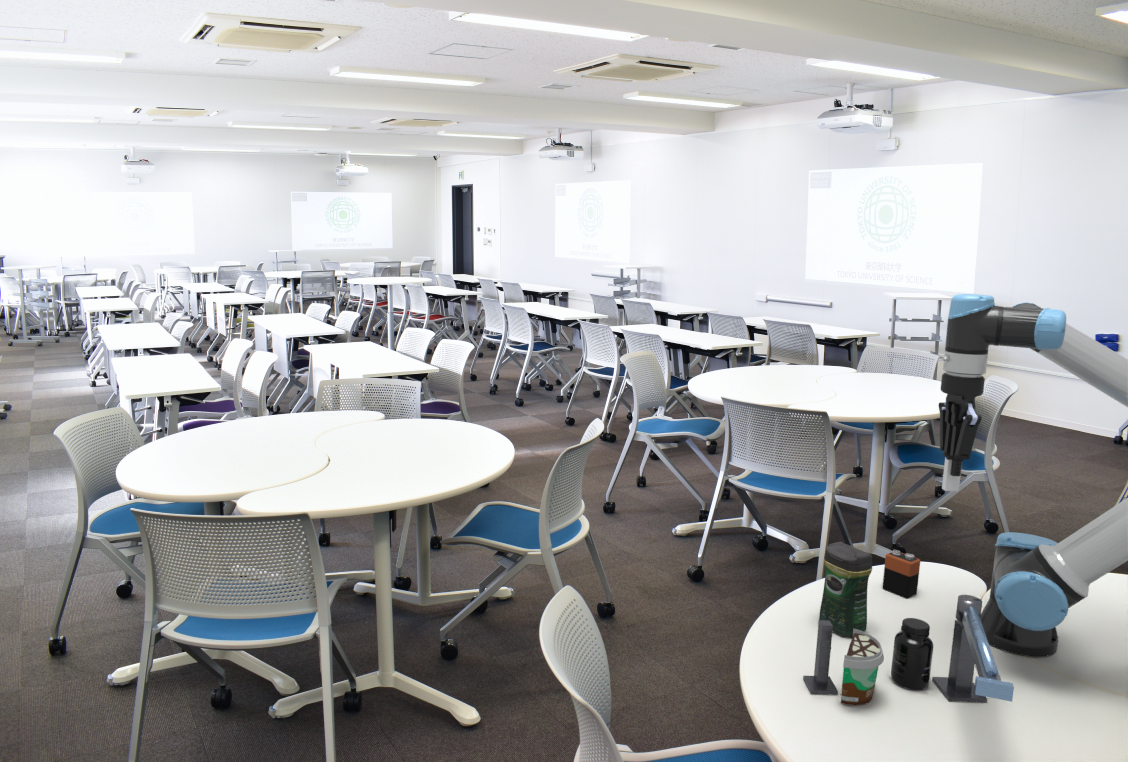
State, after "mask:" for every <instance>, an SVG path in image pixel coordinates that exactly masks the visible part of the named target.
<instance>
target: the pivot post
mask: <svg viewBox="0 0 1128 762" xmlns="http://www.w3.org/2000/svg"><path fill="white" fill-rule="evenodd" d="M951 642H952V643H951V644H952V645H951V649H950V661H949V669H948V675H947V676H932V677H931V681H932V683H933V684H934V685H935V687H937V689H938V690H939V692H940V693H942V695H943V696H944V698H945V699H946V700H947V702H956V703H981V704H988V697H985V696H980V695H975V692H974V687H975V682H973V679H974V674H975V673H974V672H975V667H976V666H975V662H974V659H973V656H972V652H971V649H970V645H969V642H968V639H967V635H966V632H965V629H964V625H963V623H962V622H960V621H958V620H957V619H955V620H954V625H953V634H952V641H951Z"/></svg>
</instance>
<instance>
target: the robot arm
mask: <svg viewBox="0 0 1128 762" xmlns="http://www.w3.org/2000/svg"><path fill="white" fill-rule="evenodd" d="M948 310H949V311H948V318H947V324H946V335H945V337H946V338H945V345H944V346H945V347H944V355H943V356H942V357H941V359H942V361H943V368H942V369H943V371H944V373H942V374H941V380H940V381H941V382H940V391H941V393H944V394H946V396H945V401H944V402H942V401H941V402H939V403H938V410H939V450H940V451H941V452H943V456H944V457H945V458H944V464H943V465H944V467H943V474H942V483H941V489H942V490H943V491H945V492H959V491H960V484H961V474H962V468H963V467H962V466H963V461H965V460H970V458H971V455H972V451H973V446H974V444H975V443H974V442H975V439H976V435H977V430H978V427H979V426H980V423H981V421H982V420H983V419H982V418H983V417H982V415H981V414H976V412H975V410H976V397H981V396H982V395H983V394H984V389H985V381H986V378H985V377H984V376H983V375H984V374H986V373H987V364H988V356H989V346H994V347H995V346H996V347H999V346H1000V347H1001V346H1002V347H1010V348H1011V347H1012V348H1020V349H1021V348H1023V349H1025V348H1026V349H1030V350H1032V351H1033V352H1035V353H1038V354H1040V356H1042V357H1044V358H1046V359H1047V360H1049V361H1050V362H1053V363H1054V364H1056V365H1057V366H1059V367H1060V368H1062V369H1064V370H1065V371H1067V372H1069V373H1070V374H1072V375H1073V376H1074V377H1077V378H1079V379H1080V380H1082V381H1084V382H1085V383H1086V384H1088V385H1090V386H1092V387H1094V388H1095V389H1096V390H1098V391H1099V392H1102V393H1103V394H1105V395H1106V396H1108V397H1110V398H1112V399H1113V400H1114V401H1117V402H1118V403H1119V404H1121V405H1123V406H1125V407H1126V408H1128V358H1126V357H1124V355H1121V354H1120V353H1118V352H1116V351H1114V350H1112V349H1111V348H1109V347H1107V346H1106V345H1105V344H1102V343H1100V342H1098V341H1097V340H1096V339H1093V338H1092V337H1090V336H1088V335H1087V334H1085V333H1083V332H1082V331H1080V330H1079V329H1077V328H1075V327H1073V326H1071V325H1070V324H1068V323H1067V315H1066V312H1065V311H1064V310H1062V309H1052V308H1050V307H1049V308H1048V307H1047V308H1042V307H1040V306H1039V305H1037V304H1035V303H1032V302H1031V303H1030V302H1021V303H1018V304H1015V305H1013V306H1011V307H1010V306H1001V305H1000V306H999V305H996V303H995V297H994V296H993V295H989V294H976V293H959V294H958V293H957V294H956V295H954V296H953V297H952V298H951V300H950V305H949V309H948ZM994 547H995V550H994V551H995V552H994V560H993V567H992V568H993V570H992V575H991V583H990V592H989V598H988V601H987V602H986V604H985V606H984V607H983V609H982V610H981V617H980V620H981V623H982V626H983V629H984V632H985V634H986V637H987V640H988V643H989V646H992V647H994V648H996V649H999V650H1002V651H1004V652H1007V653H1011V654H1013V655H1014V654H1015V655H1018V656H1023V657H1031V658H1042V657H1043V658H1044V657H1050V656H1052V655H1054V654H1056V653H1057V650H1058V646H1059V635H1058V632H1057V626H1059V625H1060V624H1061V623H1063V621H1064V620H1065V619H1066V617H1067V616H1068V613H1069V609H1070V608H1071V607H1074V606H1075V605H1076V604H1078V603H1080V602H1081V601H1082V600H1084V599H1086V598H1088V596H1089V587H1090V585H1091V584H1092V583H1094V582H1095V581H1097V580H1099V579H1100V578H1102V577H1104V576H1105V575H1107V574H1108V573H1110V572H1112V571H1113V570H1115V569H1116V568H1118V567H1120V566H1121V565H1123V564H1125V563H1126V562H1128V497H1126V498H1125V499H1123V500H1122V501H1120V502H1118V504H1116V505H1114V506H1112V507H1111V508H1110V509H1108V510H1107V511H1105V512H1104V513H1102V514H1100V515H1099V516H1098V517H1096V518H1094V519H1093V520H1091V521H1090V522H1088V523H1087V524H1085V525H1084V526H1082V527H1081V528H1080V529H1078V530H1076V531H1075V532H1073V533H1072V534H1071V535H1069V536H1067V537H1066V538H1064V539H1063V540H1061V541H1060V542H1056V541H1055V540H1053V539H1050V538H1047V537H1043V536H1038V535H1035V534H1030V533H1023V532H1014V531H1013V532H1012V531H1011V532H1010V531H1009V532H1007V531H1006V532H1002V533H999V534H998V536H997V538H996V543H995V544H994Z"/></svg>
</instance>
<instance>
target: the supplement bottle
mask: <svg viewBox="0 0 1128 762" xmlns="http://www.w3.org/2000/svg"><path fill="white" fill-rule="evenodd" d="M930 629H931V626H930V624H929V623H928V622H926V621H924V620H922V619H920V618H915V617H905V618H903V620H902V621H901V626H900V631H898V632H897V633H896V634H895V636H894V640H893V641H894V642H893V649H892V660H891V667H890V668H891V669H890V678H891V679H892V681H893V682H894V684H896V685H898V686H899V687H902V688H904V689H907V690H912V691H923V690H925V689H927V688H928V686H929V685H930V679H931V678H930V677H931V670H932V662H933V654H934V642H933V640H932V639H931V638H930Z"/></svg>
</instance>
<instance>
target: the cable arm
mask: <svg viewBox="0 0 1128 762" xmlns="http://www.w3.org/2000/svg"><path fill="white" fill-rule="evenodd" d="M982 608H983V600H982V599H980V598H979V597H977V596H974V595H971V594H960V595H958V597H957V604H956V612H955V620H958V621H960V622H962V623H963V625H964V629H965V632H966V635H967V639H968V642H969V645H970V649H971V652H972V656H973V659H974V662H975V666H974V667H975V668H976V669H975V670H976V672H977V676H975V681H974V684H975V687H974V692H975V695H980V696H985V697H986V698H991V699H996V700H1001V701H1007V702H1013V698H1014V691H1015V686H1014V683H1013V682H1009V681H1004V680H1002V679H1001V675H1000V672H999V670H998V666H997V664H996V661H995V657H994V655H993V652H992V649H991V647H990V646H991V645H990V644H989V643H988V640H987V637H986V634H985V632H984V629H983V626H982V623H981V620H980V617H981V613H982V610H983V609H982Z"/></svg>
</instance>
